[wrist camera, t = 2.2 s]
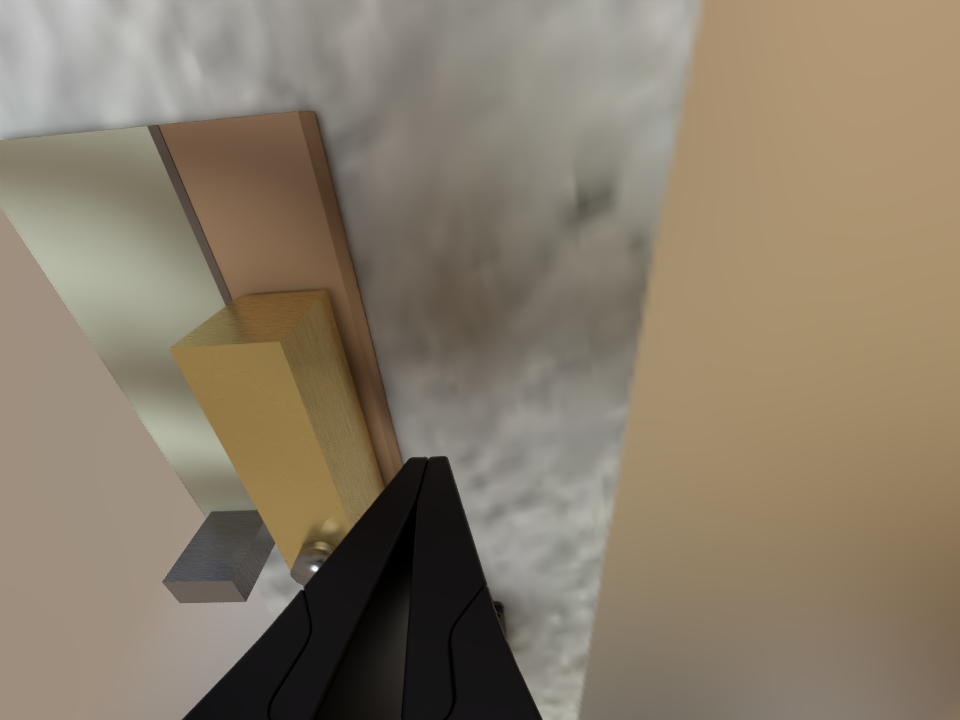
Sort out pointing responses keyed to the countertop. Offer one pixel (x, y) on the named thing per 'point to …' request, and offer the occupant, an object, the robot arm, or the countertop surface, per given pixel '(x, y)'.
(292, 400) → the latch bar
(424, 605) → the robot arm
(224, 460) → the door board
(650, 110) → the countertop surface
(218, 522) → the stop block
